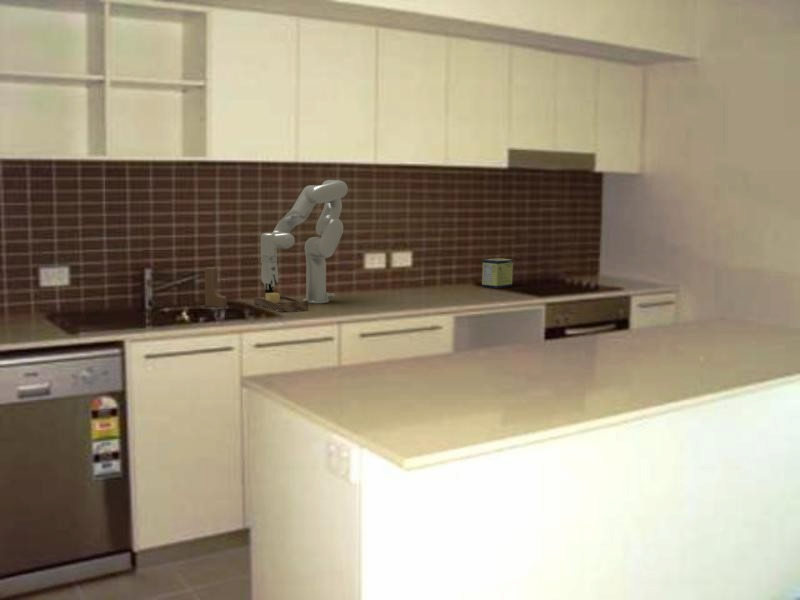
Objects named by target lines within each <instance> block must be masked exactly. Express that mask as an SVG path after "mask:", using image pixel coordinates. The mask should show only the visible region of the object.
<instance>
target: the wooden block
mask: <svg viewBox="0 0 800 600" xmlns="http://www.w3.org/2000/svg"><path fill="white" fill-rule="evenodd" d="M204 295H205V296H204V301H205V303H204V306H205V307H208V308H209V307H210V308H225V307H227V304H228V303H227V302H228V301H227V296H225V295H222V294H220V293H219V290H218V268H217V267H214V266H213V267H211V266H209V267H205V268H204Z"/></svg>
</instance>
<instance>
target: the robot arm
mask: <svg viewBox="0 0 800 600" xmlns="http://www.w3.org/2000/svg"><path fill="white" fill-rule="evenodd" d="M348 190H349V189H348V185H347V184H346V182H345V181H343V180H339V179H337V180H336V179H335V180H334V179H327V180H324V181H323V182H322V184H321V185H314V184H312V185H311V184H310V185H306V186H305V187H304V188H303V189H302V190H301V191H302V192H301V193H300V194H299V196H298V197H297V200H295V203H294V205H293V206H292V208H290V210H289V211H288V212H287V213H286V214H285V215H284V216H283V217H282V218H281V219H280V220H279V221H278V223H277V224H276V226H275V227H274V229H273V231H272V232H264V233H261V234H260V263H261V265H260V266H261V270H260V271H261V272H260V280H261V283H262V284H263V285H264V291H265V293H274V288H275V287H276V285H277V284H279V268H278V249H279V248H280V249H290V248H292V247H293V246H294V245H295V244H296V243H295V242H296V240H295V237H294V235H293V234H291V233H290V232H291V231H292V230H293V229H294V228H295V227H296V226H298V225H300V224H302V223H303V222H305V221H306V220H307V219H308V217H309V216H310V214H311V213H312V210H313V209H314V208H315V206H316V204H318V205H321V204H324V205H323V208H322V211H321V214H320V216H319V218H318V220H317V221H316V222H317V223H316V224H315V231H316V233H317V234H318V235H319V236H321V237H319V236H312V237H309V238H308V239H307V240H306V241H305V243H304V253H305V264H306V266H305V268H306V270H305V272H306V276H305V281H306V282H305V285H306V286H305V291H306V292H305V294H306V295H305V297H306V298H303V299H302V301H308V304H325V303H329V302H330V299H329V298H335V297H336V294H335V293H333V292H332V293H329V292H327V261H326V259H328V258H330V257H332V256H333V254H334V253H335V251H336V250H337V247H338V245H339V242H340V240H341V239H342V236H343V233H344V224H343V222H342V220H340V219H339V217H340V216H341V213H342V208H343V205H342V204H343V203H342V198H344V197H345V196H346V195H347V193H348V192H349V191H348ZM265 293H264V294H265ZM264 296H265V295H264ZM264 298H266V296H265V297H264Z"/></svg>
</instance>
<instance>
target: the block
mask: <svg viewBox="0 0 800 600" xmlns="http://www.w3.org/2000/svg"><path fill="white" fill-rule="evenodd" d="M280 295H281V294H280V293H278V292H274V291H273V293H264V296H266V300H267V301H271V302H274V303H276V302H280Z"/></svg>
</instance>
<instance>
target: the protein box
mask: <svg viewBox="0 0 800 600" xmlns="http://www.w3.org/2000/svg"><path fill="white" fill-rule="evenodd" d="M513 269H514V259H510V258H499V257H497V258H489V259H482V275H481V276H482V277H481V287H482V288H487V289H489V288H491V289H501V288H502V289H504V288H509V286H511V287H513V275H514V273H513V271H514V270H513ZM503 287H504V288H503Z"/></svg>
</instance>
